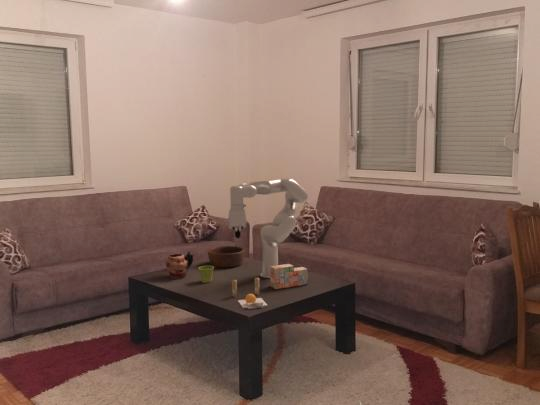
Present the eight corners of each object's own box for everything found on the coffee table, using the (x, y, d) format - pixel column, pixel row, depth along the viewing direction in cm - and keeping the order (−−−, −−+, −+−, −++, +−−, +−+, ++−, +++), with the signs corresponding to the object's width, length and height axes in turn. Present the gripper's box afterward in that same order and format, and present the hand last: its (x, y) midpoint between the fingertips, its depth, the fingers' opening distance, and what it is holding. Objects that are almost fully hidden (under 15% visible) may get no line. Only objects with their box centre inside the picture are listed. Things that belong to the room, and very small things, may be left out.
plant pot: (211, 284, 327) (211, 269, 326) (196, 283, 329) (196, 269, 328) (216, 279, 336) (216, 265, 335) (201, 279, 338) (201, 265, 337)
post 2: (258, 293, 307) (258, 277, 305) (260, 294, 304) (259, 278, 303) (254, 293, 306) (254, 278, 305) (255, 295, 303) (255, 279, 302)
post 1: (236, 295, 303) (236, 279, 302) (237, 297, 301) (237, 280, 299) (231, 296, 302) (231, 280, 301) (232, 297, 300) (232, 281, 299)
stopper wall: (262, 306, 284) (262, 301, 284) (263, 307, 283) (263, 302, 282) (247, 308, 282) (247, 303, 281) (248, 308, 280) (247, 304, 280)
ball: (256, 306, 286) (254, 301, 291) (257, 296, 285) (255, 291, 290) (246, 306, 285) (244, 302, 290) (246, 296, 283) (244, 292, 289)
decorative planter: (159, 275, 349) (158, 253, 347) (176, 271, 357) (175, 250, 355) (176, 281, 334) (175, 258, 332) (193, 277, 341) (192, 255, 340)
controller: (194, 266, 369) (194, 252, 368) (179, 270, 361) (178, 255, 359) (190, 265, 372) (190, 251, 371) (175, 268, 364) (174, 254, 362)
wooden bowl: (250, 261, 381) (250, 247, 380) (235, 270, 358) (235, 254, 357) (218, 259, 390) (217, 244, 389) (201, 267, 367) (200, 252, 365)
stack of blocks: (303, 282, 329) (302, 261, 327) (308, 284, 323) (307, 264, 322) (270, 286, 320) (270, 265, 319) (274, 289, 315) (274, 268, 313)
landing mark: (261, 298, 298) (261, 297, 298) (267, 305, 285) (267, 305, 285) (237, 300, 294) (237, 300, 294) (243, 308, 282) (243, 307, 282)
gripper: (247, 205, 329) (248, 235, 332) (223, 206, 325) (224, 237, 328) (251, 207, 322) (251, 238, 324) (225, 208, 318) (226, 239, 320)
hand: (237, 237), depth 326 cm, fingers closed
